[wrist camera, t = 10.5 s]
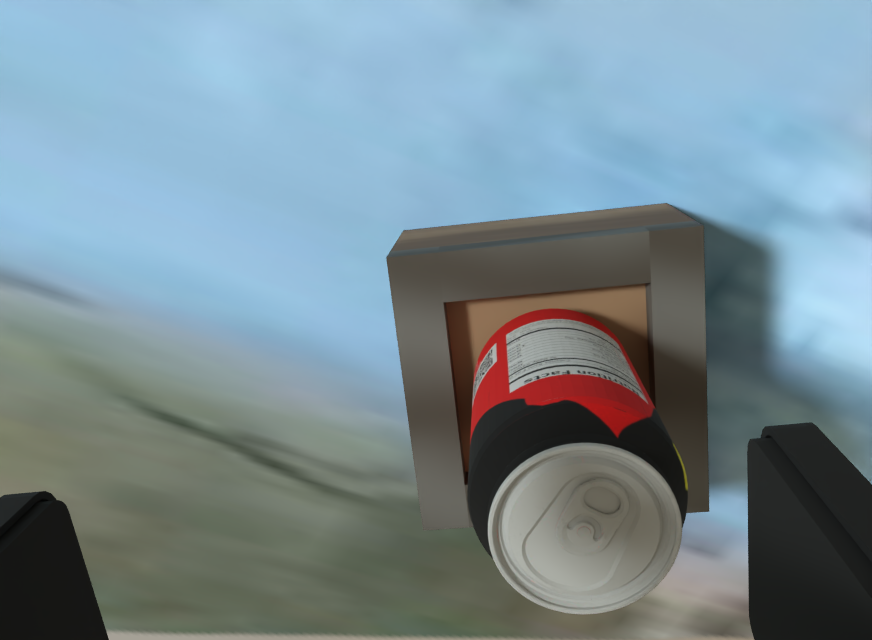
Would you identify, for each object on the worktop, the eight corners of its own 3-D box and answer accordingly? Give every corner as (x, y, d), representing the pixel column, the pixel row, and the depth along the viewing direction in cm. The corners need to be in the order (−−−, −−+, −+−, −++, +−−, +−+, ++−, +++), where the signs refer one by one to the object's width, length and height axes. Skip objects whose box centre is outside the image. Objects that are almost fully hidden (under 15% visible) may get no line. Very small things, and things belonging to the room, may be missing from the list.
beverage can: (449, 406, 33) (427, 577, 21) (515, 275, 31) (530, 385, 19) (582, 466, 33) (632, 666, 21) (655, 340, 31) (752, 485, 20)
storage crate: (403, 230, 36) (386, 257, 30) (666, 203, 34) (703, 225, 29) (433, 463, 39) (423, 530, 33) (674, 446, 38) (709, 511, 32)
